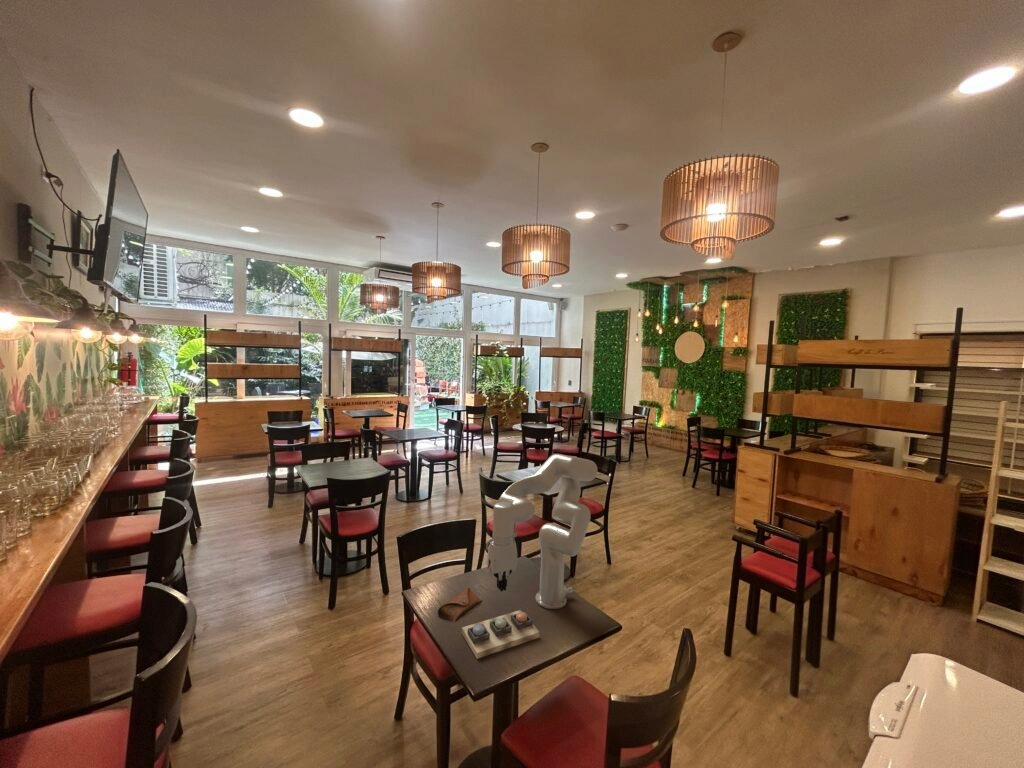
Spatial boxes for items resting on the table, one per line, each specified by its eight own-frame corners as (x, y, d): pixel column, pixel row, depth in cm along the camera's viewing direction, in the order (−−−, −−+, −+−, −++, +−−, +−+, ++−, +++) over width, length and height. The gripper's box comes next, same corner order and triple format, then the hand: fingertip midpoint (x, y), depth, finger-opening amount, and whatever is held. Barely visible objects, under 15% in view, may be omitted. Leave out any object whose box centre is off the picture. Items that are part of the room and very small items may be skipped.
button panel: (520, 614, 159) (520, 604, 159) (539, 637, 147) (539, 626, 146) (461, 632, 148) (461, 622, 147) (476, 658, 135) (477, 647, 135)
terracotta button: (523, 616, 154) (523, 611, 153) (528, 622, 150) (529, 617, 150) (514, 619, 152) (514, 613, 152) (519, 625, 148) (519, 620, 148)
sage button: (503, 622, 150) (503, 617, 149) (508, 629, 146) (508, 623, 146) (493, 625, 148) (493, 620, 148) (498, 632, 144) (498, 626, 144)
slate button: (481, 629, 146) (481, 623, 145) (486, 636, 142) (486, 630, 142) (470, 632, 144) (471, 626, 144) (475, 639, 140) (475, 633, 140)
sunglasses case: (454, 623, 153) (447, 605, 154) (442, 626, 156) (435, 608, 158) (484, 600, 168) (477, 583, 169) (472, 603, 171) (466, 587, 173)
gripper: (517, 530, 152) (515, 578, 153) (479, 537, 144) (477, 588, 146) (527, 538, 145) (525, 589, 146) (488, 546, 138) (486, 600, 139)
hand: (501, 588), depth 146 cm, fingers closed
